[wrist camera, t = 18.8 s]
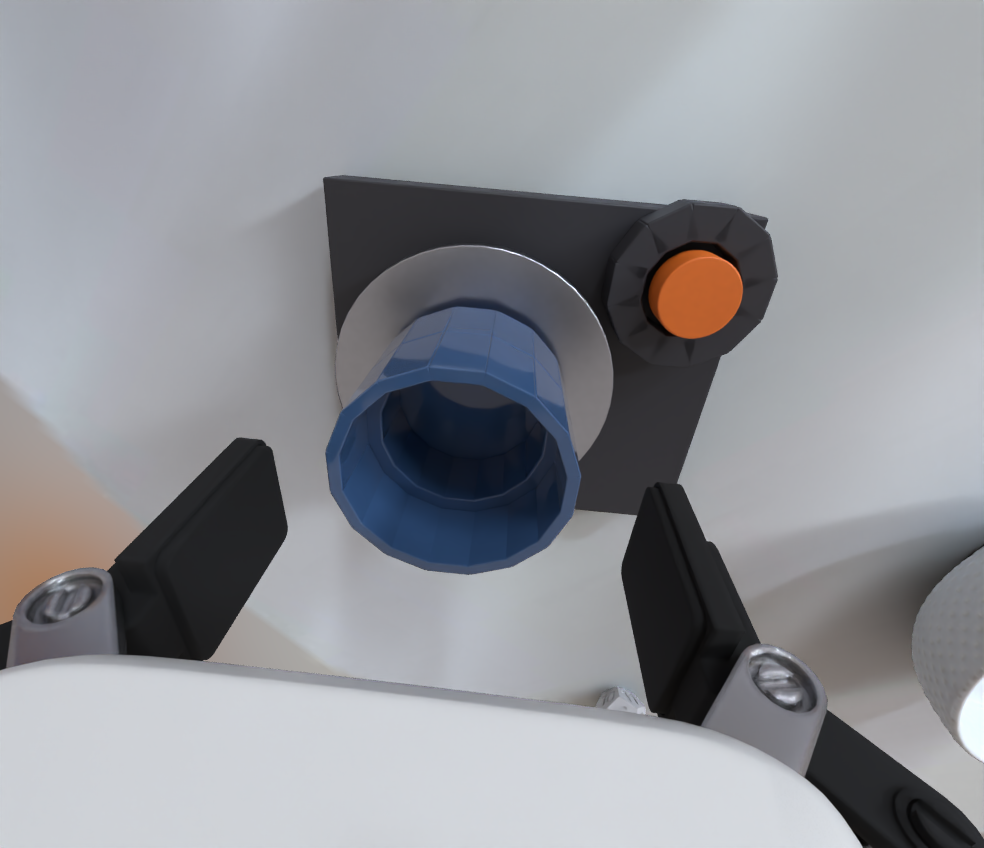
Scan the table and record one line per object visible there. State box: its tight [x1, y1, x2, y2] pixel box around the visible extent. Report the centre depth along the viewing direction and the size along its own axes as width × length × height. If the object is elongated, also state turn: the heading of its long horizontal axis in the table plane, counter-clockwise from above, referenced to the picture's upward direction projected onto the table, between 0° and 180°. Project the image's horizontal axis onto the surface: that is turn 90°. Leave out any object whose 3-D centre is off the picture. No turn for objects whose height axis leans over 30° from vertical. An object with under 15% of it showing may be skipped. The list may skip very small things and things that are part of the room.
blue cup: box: [325, 307, 581, 575], centre depth 16 cm, size 7×7×6 cm
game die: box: [595, 686, 646, 715], centre depth 34 cm, size 4×4×3 cm
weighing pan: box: [335, 243, 613, 461], centre depth 19 cm, size 11×11×1 cm
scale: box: [323, 175, 778, 515], centre depth 20 cm, size 16×14×4 cm
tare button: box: [648, 250, 743, 339], centre depth 16 cm, size 3×3×1 cm
